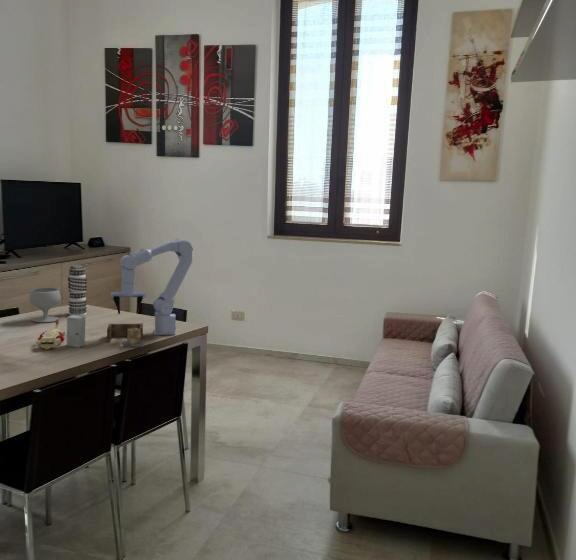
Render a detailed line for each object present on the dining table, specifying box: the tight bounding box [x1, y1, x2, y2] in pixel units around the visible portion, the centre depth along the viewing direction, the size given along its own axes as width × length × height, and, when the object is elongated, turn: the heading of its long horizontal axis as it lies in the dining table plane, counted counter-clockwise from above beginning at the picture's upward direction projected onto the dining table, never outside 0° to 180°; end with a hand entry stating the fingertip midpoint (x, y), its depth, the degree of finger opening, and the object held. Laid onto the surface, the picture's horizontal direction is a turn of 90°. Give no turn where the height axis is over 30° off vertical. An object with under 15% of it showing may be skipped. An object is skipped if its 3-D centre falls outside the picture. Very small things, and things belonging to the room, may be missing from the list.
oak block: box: [126, 328, 141, 345], centre depth 231 cm, size 4×4×6 cm
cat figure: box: [35, 319, 66, 350], centre depth 229 cm, size 10×9×25 cm
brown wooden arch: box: [106, 322, 144, 343], centre depth 240 cm, size 14×10×6 cm
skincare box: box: [66, 315, 86, 348], centre depth 226 cm, size 6×4×12 cm
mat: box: [123, 340, 145, 349], centre depth 231 cm, size 8×8×1 cm
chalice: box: [28, 287, 62, 323], centre depth 265 cm, size 14×14×15 cm
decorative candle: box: [67, 264, 88, 317], centre depth 280 cm, size 9×9×25 cm
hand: (128, 313), depth 243 cm, fingers open, 7 cm apart
